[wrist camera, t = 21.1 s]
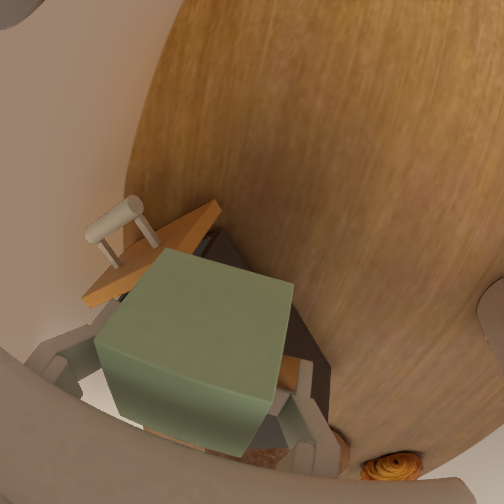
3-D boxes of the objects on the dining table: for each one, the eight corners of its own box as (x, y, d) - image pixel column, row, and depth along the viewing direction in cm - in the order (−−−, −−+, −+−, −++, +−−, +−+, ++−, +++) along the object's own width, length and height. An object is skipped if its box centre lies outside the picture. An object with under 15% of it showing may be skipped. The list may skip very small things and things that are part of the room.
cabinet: (182, 312, 35) (144, 383, 26) (278, 280, 30) (258, 368, 21) (245, 384, 40) (227, 449, 31) (331, 367, 35) (326, 443, 26)
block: (165, 331, 14) (119, 415, 10) (165, 246, 11) (92, 339, 7) (265, 363, 14) (241, 458, 10) (294, 282, 11) (273, 404, 7)
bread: (289, 469, 59) (283, 504, 50) (190, 430, 55) (175, 469, 46) (376, 441, 45) (375, 487, 37) (261, 392, 41) (246, 452, 32)
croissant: (425, 438, 46) (429, 468, 39) (417, 467, 51) (419, 493, 44) (359, 449, 51) (359, 480, 44) (361, 476, 56) (360, 503, 49)
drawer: (106, 212, 28) (50, 258, 21) (188, 155, 24) (130, 194, 16) (200, 336, 35) (174, 396, 28) (287, 313, 30) (274, 385, 23)
